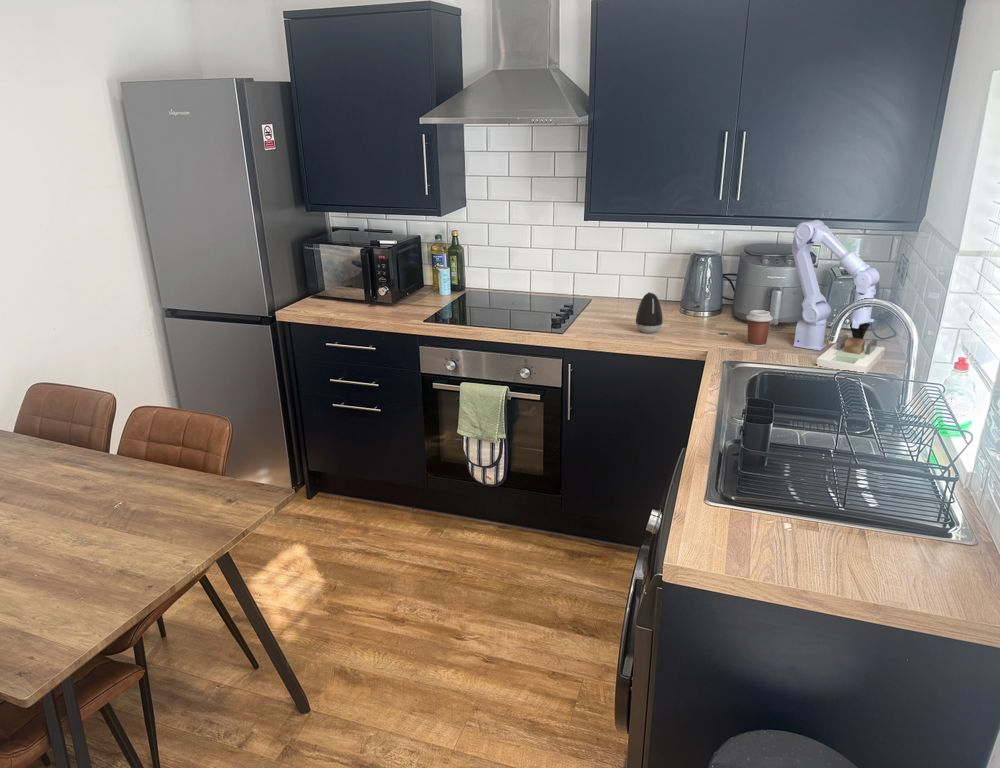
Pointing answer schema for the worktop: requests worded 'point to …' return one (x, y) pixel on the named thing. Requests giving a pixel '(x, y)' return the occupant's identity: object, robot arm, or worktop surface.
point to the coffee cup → (758, 327)
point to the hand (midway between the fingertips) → (857, 344)
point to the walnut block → (854, 345)
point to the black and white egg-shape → (649, 314)
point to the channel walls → (869, 348)
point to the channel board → (850, 359)
